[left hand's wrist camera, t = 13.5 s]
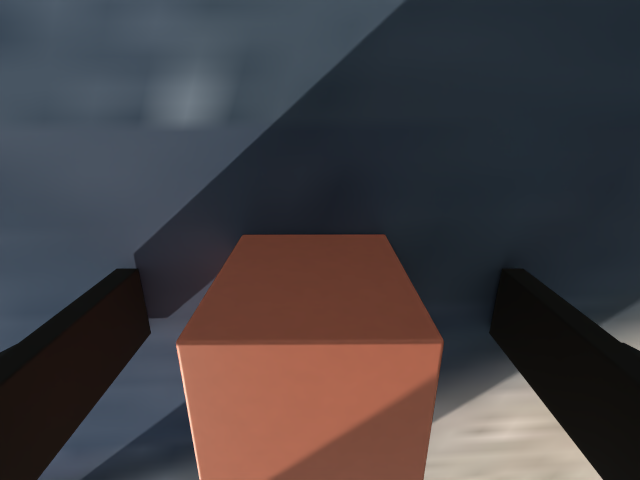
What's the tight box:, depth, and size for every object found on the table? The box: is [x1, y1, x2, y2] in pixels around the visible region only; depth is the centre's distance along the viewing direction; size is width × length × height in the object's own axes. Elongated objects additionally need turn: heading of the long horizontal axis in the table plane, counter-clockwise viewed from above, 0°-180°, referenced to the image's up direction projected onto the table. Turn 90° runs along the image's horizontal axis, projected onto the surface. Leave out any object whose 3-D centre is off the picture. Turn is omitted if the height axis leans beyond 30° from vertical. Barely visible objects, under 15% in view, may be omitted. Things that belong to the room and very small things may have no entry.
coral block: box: [176, 234, 444, 480], centre depth 10 cm, size 5×5×6 cm
